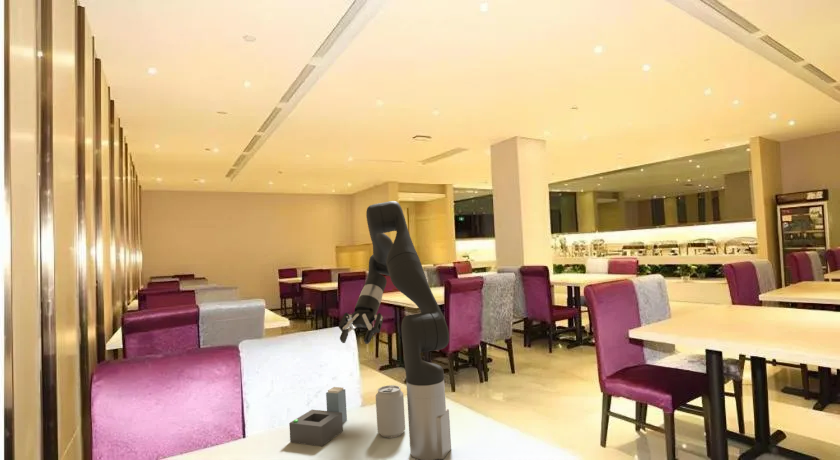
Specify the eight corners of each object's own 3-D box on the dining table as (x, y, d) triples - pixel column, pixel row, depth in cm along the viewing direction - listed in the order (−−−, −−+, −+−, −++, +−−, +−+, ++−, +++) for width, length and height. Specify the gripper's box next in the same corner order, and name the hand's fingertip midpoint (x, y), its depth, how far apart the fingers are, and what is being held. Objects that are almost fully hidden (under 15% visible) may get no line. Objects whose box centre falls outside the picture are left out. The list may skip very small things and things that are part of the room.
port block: (342, 430, 126) (341, 411, 126) (322, 446, 117) (321, 424, 117) (312, 427, 130) (311, 408, 130) (290, 442, 120) (289, 421, 120)
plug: (346, 420, 133) (345, 387, 134) (339, 425, 130) (337, 391, 130) (335, 419, 135) (333, 386, 135) (327, 424, 131) (325, 390, 132)
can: (372, 436, 121) (369, 391, 121) (387, 425, 127) (384, 382, 128) (396, 440, 117) (393, 393, 118) (410, 429, 124) (408, 385, 124)
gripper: (346, 294, 155) (329, 335, 144) (384, 293, 150) (369, 336, 139) (355, 307, 160) (339, 347, 149) (392, 307, 155) (378, 349, 144)
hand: (353, 342), depth 144 cm, fingers open, 8 cm apart
